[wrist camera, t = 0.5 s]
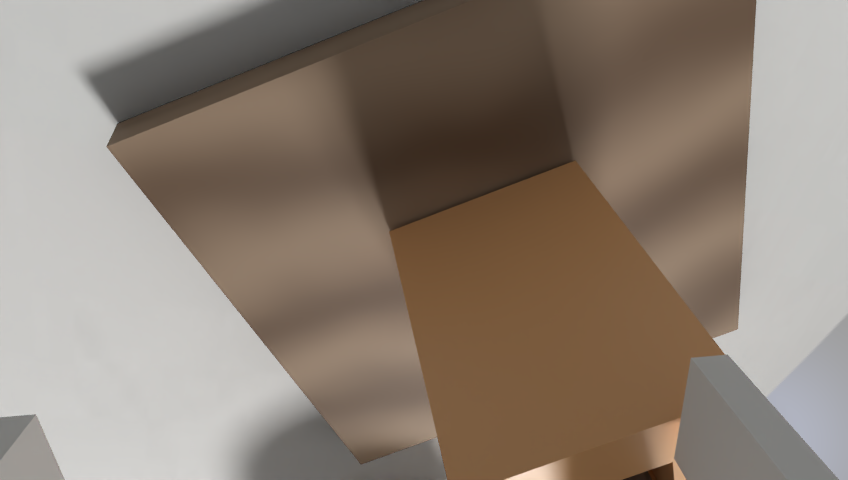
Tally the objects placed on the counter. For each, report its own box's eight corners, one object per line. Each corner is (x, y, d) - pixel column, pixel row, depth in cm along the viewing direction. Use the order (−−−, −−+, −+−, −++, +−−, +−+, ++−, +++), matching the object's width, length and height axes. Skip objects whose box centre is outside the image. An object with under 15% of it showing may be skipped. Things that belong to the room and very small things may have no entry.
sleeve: (389, 231, 21) (451, 498, 13) (575, 160, 20) (753, 391, 13) (444, 348, 25) (516, 599, 17) (598, 291, 25) (740, 522, 17)
